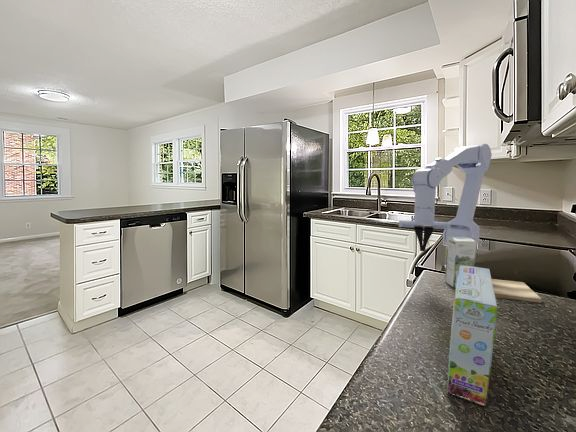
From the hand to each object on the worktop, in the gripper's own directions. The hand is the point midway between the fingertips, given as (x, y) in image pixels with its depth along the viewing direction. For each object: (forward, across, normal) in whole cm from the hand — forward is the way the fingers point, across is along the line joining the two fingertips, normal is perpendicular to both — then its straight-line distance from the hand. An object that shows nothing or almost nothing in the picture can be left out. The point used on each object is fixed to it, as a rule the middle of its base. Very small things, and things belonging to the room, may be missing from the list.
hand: (422, 250), depth 92 cm
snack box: (+10, +6, -44) cm, 46 cm away
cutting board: (+10, +21, 0) cm, 24 cm away
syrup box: (+10, +10, 0) cm, 14 cm away
